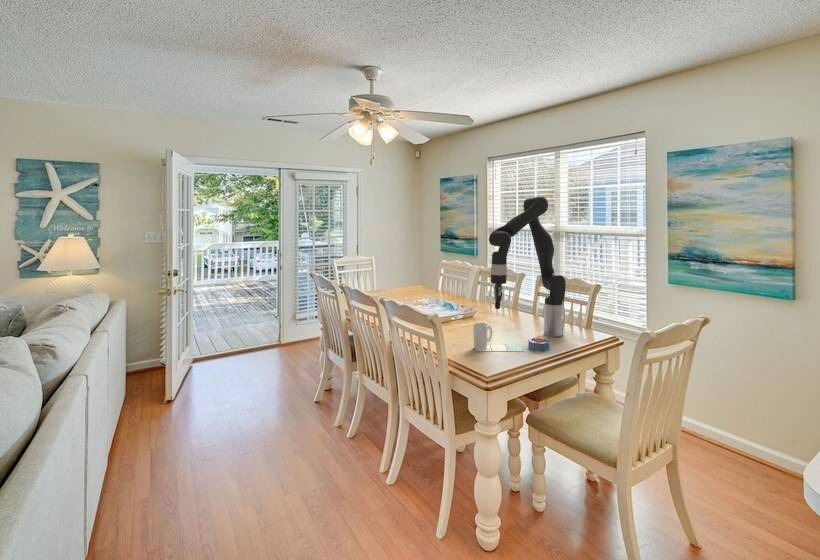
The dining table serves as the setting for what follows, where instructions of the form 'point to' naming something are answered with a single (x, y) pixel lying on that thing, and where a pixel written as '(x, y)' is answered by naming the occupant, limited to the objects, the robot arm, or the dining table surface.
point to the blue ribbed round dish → (538, 345)
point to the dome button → (539, 340)
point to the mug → (481, 335)
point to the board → (502, 348)
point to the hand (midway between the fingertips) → (497, 308)
